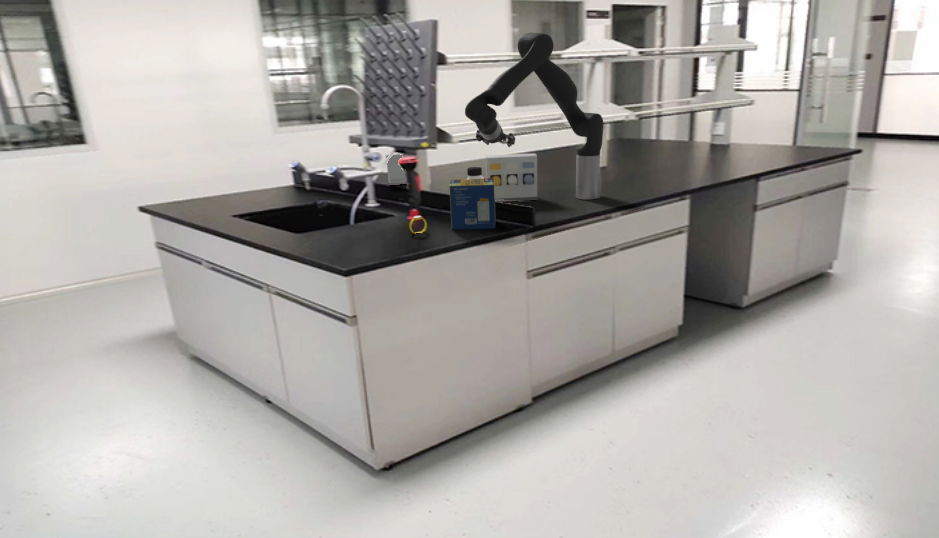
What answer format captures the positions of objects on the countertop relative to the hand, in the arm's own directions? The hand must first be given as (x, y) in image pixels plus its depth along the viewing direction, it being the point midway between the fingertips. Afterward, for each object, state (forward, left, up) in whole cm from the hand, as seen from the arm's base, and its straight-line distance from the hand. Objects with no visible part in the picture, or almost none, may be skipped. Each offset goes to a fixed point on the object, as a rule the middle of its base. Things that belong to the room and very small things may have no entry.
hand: (499, 143), depth 236 cm
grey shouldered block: (+46, -49, -24) cm, 71 cm away
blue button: (-11, -2, -17) cm, 20 cm away
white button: (-5, -2, -17) cm, 18 cm away
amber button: (+2, -2, -17) cm, 17 cm away
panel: (-5, -6, -24) cm, 25 cm away
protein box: (+12, +29, -24) cm, 40 cm away
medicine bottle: (+10, -19, -24) cm, 32 cm away
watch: (+31, +36, -24) cm, 53 cm away
